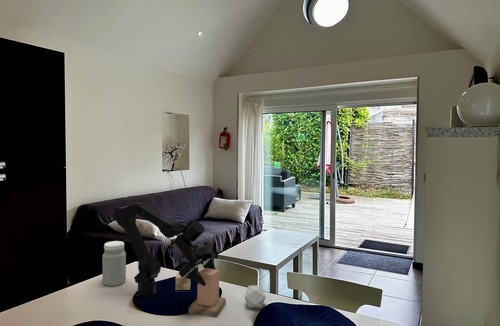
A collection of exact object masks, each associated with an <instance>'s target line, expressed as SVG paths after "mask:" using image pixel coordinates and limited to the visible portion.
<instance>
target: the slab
mask: <svg viewBox="0 0 500 326" xmlns="http://www.w3.org/2000/svg"><path fill="white" fill-rule="evenodd" d="M226 301H227V300H226V298H224V297H219V301H218V302H217V303H215V304H214V305H213V306H211V307H209V306H205V305H200V304H197V298H196V299H195V300H194V301H193V302H192V303H191V305H189V306H188V314H189V315H196V316H197V315H198V316H203V317H204V316H205V317H211V318H218V317H219V315H220V314H221V312H222V310H223V309H224V308H225V306H226V305H227V302H226Z"/></svg>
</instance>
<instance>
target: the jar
mask: <svg viewBox="0 0 500 326" xmlns="http://www.w3.org/2000/svg"><path fill="white" fill-rule="evenodd" d="M103 249H104V250H103V252H104V253H103V254H102V283H103V284H104V285H105V286H107V287H117V286H121V285H123V284H124V283H125V281H127V280H126V279H127V262H126V261H127V253H126V251H125V242H124V241H121V240H113V241H107V242H105V243H104V245H103Z"/></svg>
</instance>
